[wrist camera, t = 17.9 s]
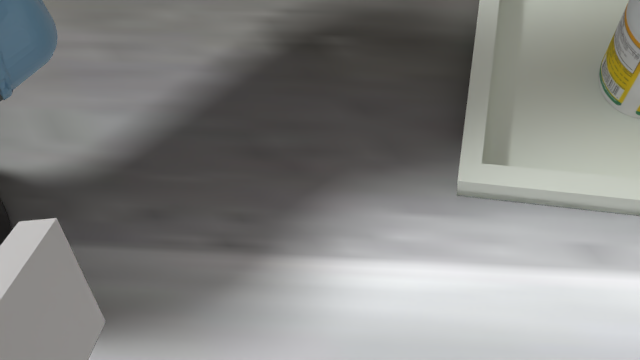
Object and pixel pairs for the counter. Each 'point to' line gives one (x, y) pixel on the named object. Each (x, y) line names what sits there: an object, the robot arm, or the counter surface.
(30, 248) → the robot arm
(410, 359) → the counter surface
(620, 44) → the supplement bottle
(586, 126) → the tray
